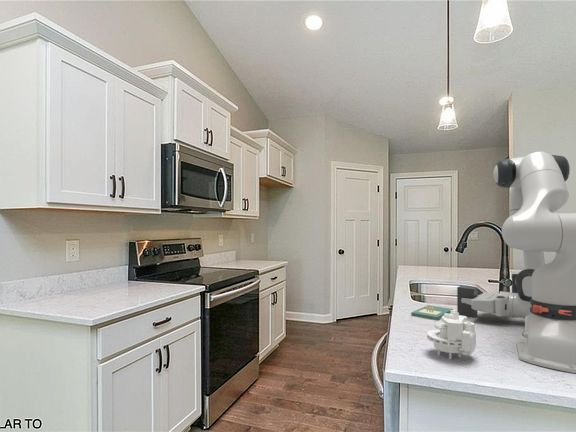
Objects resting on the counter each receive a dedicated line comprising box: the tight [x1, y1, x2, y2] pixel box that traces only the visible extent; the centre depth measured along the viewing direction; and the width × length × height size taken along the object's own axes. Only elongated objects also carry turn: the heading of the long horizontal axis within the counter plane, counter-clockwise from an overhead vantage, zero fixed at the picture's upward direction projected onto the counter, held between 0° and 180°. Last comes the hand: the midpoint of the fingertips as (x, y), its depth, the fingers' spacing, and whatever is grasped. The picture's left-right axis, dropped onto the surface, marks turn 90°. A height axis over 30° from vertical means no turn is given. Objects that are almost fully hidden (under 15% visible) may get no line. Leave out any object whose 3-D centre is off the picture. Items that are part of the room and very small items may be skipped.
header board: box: [410, 304, 453, 321], centre depth 140 cm, size 18×10×3 cm, turn 138°
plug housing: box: [456, 285, 479, 319], centre depth 138 cm, size 5×6×11 cm
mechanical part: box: [426, 309, 477, 360], centre depth 95 cm, size 11×12×12 cm
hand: (464, 298), depth 138 cm, fingers open, 7 cm apart
